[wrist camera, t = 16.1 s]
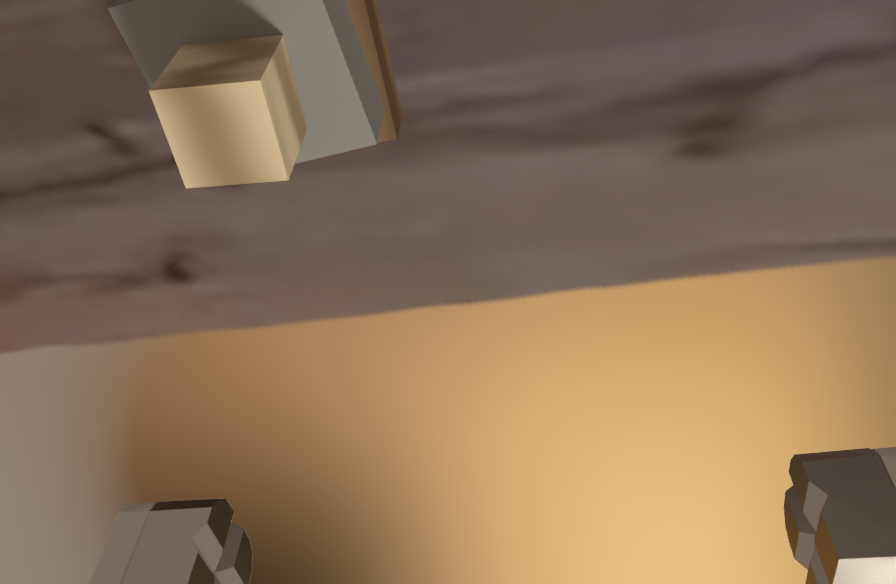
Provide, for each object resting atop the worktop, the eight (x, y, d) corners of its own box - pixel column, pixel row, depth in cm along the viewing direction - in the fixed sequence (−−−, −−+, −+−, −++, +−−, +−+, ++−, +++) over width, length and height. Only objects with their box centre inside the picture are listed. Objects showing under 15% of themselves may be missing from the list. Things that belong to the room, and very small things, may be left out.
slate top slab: (318, -75, 39) (303, -50, 36) (384, 109, 45) (376, 144, 42) (136, -20, 41) (107, 8, 38) (222, 149, 47) (204, 185, 44)
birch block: (283, 34, 38) (260, 80, 34) (307, 128, 41) (288, 180, 37) (182, 44, 39) (148, 90, 35) (214, 136, 42) (185, 188, 38)
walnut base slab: (356, -102, 42) (345, -80, 38) (403, 107, 49) (397, 139, 46) (140, -63, 43) (114, -40, 40) (218, 133, 51) (200, 166, 48)
